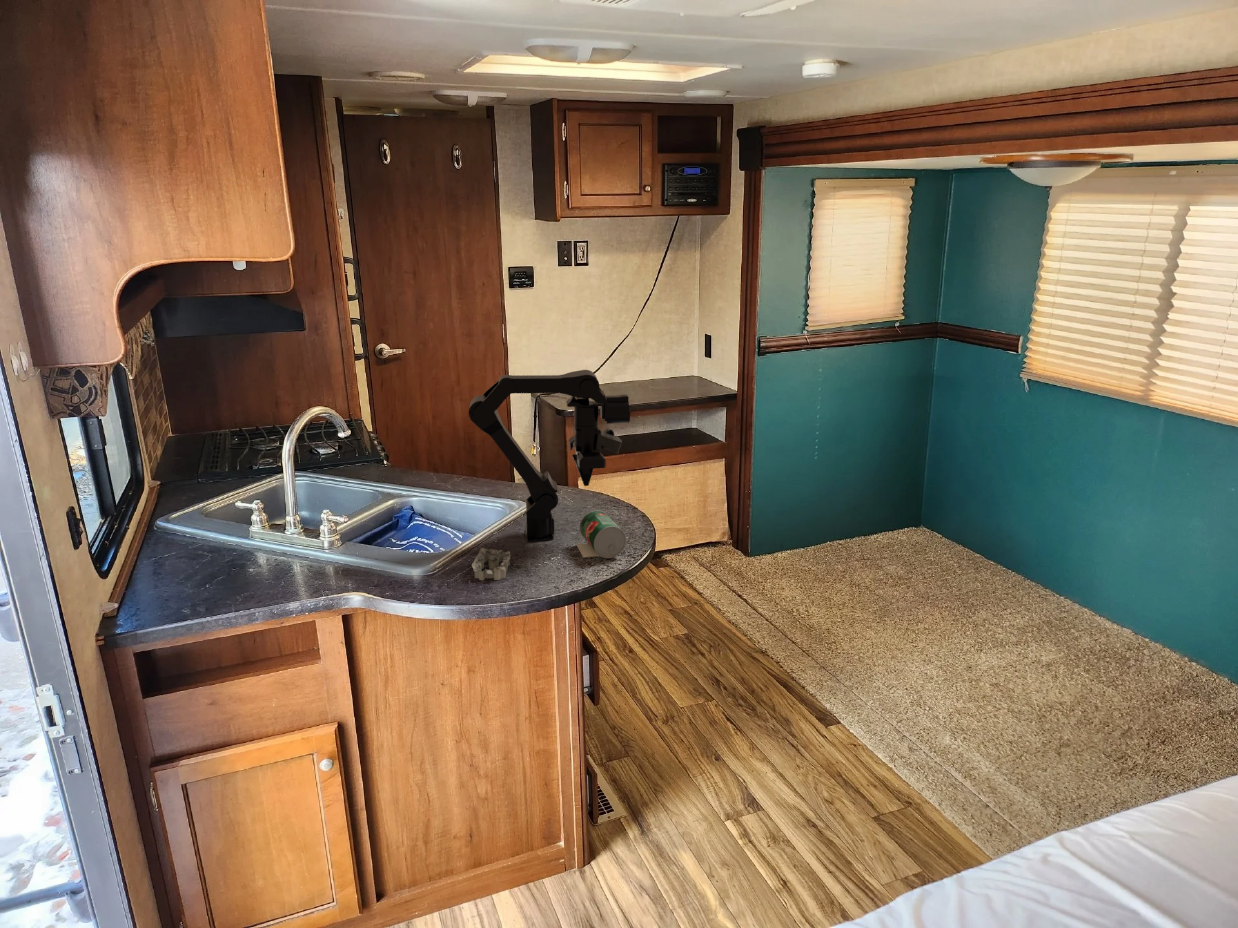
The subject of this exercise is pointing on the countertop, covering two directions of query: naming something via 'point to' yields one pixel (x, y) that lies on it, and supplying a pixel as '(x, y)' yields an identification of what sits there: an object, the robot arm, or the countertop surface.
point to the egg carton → (491, 564)
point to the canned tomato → (602, 534)
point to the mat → (587, 550)
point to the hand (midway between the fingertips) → (586, 485)
